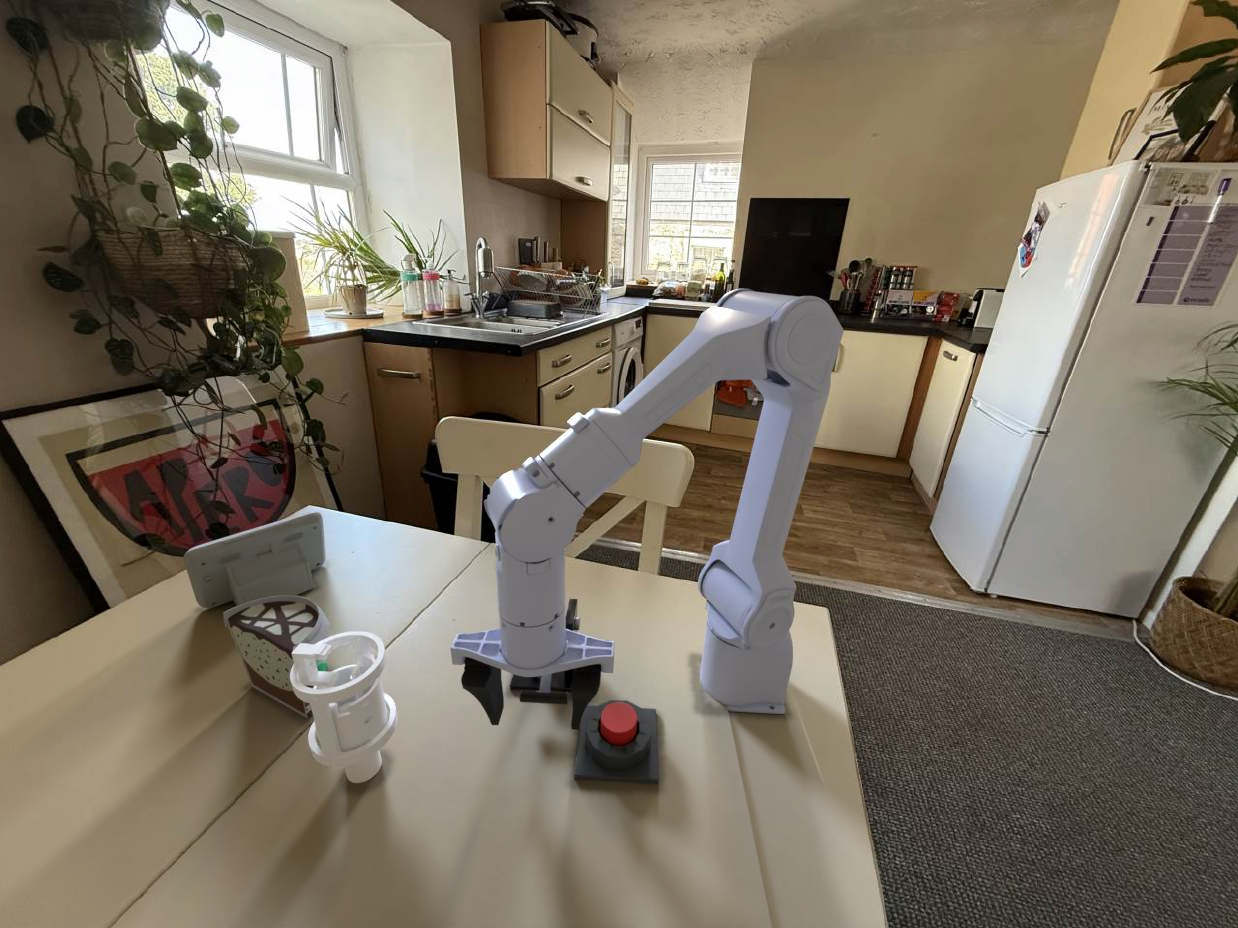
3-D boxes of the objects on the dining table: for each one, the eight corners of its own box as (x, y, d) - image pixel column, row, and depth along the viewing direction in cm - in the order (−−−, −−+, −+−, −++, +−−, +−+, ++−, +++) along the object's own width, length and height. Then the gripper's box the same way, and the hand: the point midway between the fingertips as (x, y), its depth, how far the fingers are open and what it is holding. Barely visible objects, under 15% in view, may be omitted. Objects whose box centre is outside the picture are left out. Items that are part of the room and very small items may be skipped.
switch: (567, 706, 53) (566, 702, 51) (521, 704, 53) (518, 699, 51) (577, 615, 59) (576, 607, 57) (535, 613, 59) (532, 605, 57)
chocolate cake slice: (367, 682, 57) (352, 612, 53) (317, 723, 52) (296, 649, 48) (296, 647, 62) (277, 580, 58) (243, 681, 56) (219, 611, 53)
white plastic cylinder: (348, 736, 51) (319, 619, 45) (417, 740, 50) (396, 622, 45) (306, 807, 44) (266, 680, 38) (384, 811, 44) (356, 684, 38)
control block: (655, 716, 54) (657, 695, 53) (658, 788, 47) (660, 766, 46) (582, 712, 54) (582, 691, 53) (574, 783, 47) (574, 761, 46)
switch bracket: (588, 697, 56) (589, 636, 53) (509, 693, 56) (505, 632, 53) (594, 646, 64) (595, 590, 60) (524, 642, 64) (521, 586, 60)
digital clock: (329, 558, 79) (316, 499, 75) (340, 587, 73) (326, 524, 69) (200, 594, 70) (177, 529, 66) (199, 631, 64) (173, 561, 59)
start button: (636, 715, 51) (637, 702, 51) (636, 746, 48) (637, 733, 47) (601, 713, 51) (602, 700, 51) (599, 744, 48) (599, 731, 47)
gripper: (617, 581, 46) (613, 689, 52) (464, 573, 47) (475, 681, 52) (614, 633, 40) (609, 751, 45) (435, 624, 40) (451, 742, 45)
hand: (536, 718), depth 48 cm, fingers open, 7 cm apart
